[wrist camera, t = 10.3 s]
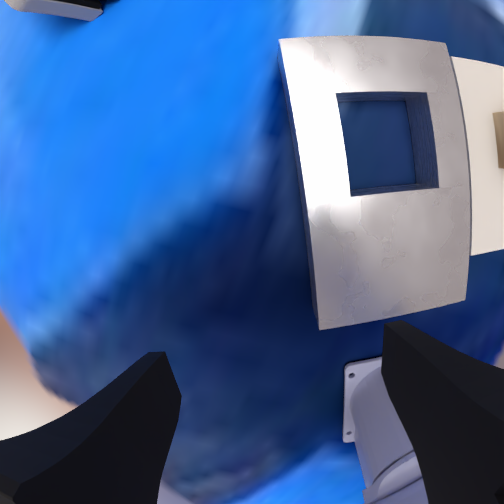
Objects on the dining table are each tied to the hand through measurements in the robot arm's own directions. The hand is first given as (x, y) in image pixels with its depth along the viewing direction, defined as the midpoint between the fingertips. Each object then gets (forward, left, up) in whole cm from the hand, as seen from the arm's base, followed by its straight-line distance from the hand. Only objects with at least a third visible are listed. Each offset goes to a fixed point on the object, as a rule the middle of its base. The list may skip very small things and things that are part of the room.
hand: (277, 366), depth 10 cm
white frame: (+5, -7, -10) cm, 13 cm away
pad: (+6, -19, -10) cm, 23 cm away
